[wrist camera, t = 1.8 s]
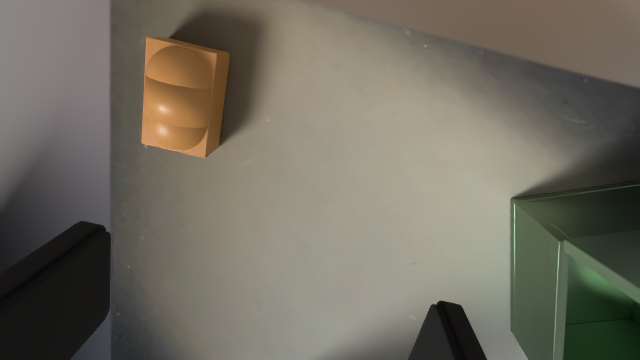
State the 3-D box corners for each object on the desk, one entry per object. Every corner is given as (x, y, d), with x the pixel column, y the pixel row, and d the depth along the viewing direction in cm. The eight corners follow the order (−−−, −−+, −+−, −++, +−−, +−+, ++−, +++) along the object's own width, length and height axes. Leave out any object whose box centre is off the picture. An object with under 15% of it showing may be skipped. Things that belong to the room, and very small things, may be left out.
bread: (167, 37, 25) (132, 35, 21) (230, 52, 25) (208, 53, 21) (161, 134, 28) (128, 149, 23) (218, 147, 28) (196, 165, 24)
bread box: (632, 318, 31) (705, 385, 25) (510, 330, 33) (551, 397, 26) (652, 178, 27) (747, 217, 21) (510, 198, 28) (559, 241, 22)
